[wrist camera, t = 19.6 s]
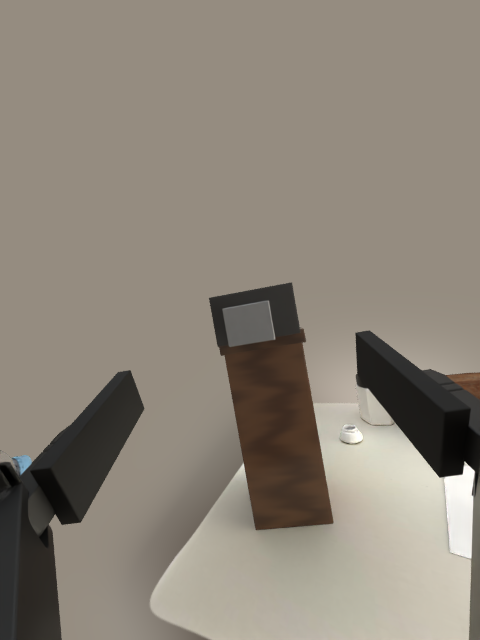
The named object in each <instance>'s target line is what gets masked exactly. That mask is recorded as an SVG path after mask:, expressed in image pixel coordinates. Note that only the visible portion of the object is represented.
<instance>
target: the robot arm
mask: <svg viewBox="0 0 480 640" xmlns="http://www.w3.org/2000/svg"><path fill="white" fill-rule="evenodd" d="M356 352H357V375H358V377H359V378H360V379H361V381H362V382H363V383H364V384H365V386H366V387H367V388H368V389H369V391H370V392H371V393H372V394H373V395H374V397H375V398H376V399H377V400H378V402H379V403H380V404H381V405H382V407H383V408H384V409H385V410H386V412H387V413H388V414H389V415H390V417H391V418H392V419H393V420H394V422H395V423H396V424H397V425H398V427H399V428H400V429H401V430H402V431H403V433H404V434H405V435H406V436H407V438H408V439H409V440H410V441H411V443H412V444H413V445H414V446H415V448H416V449H417V450H418V451H419V453H420V454H421V455H422V456H423V458H424V459H425V460H426V461H427V463H428V464H429V465H430V466H431V467H432V469H433V470H434V471H435V472H436V474H437V475H438V476H439V477H448V476H456V475H463V470H464V461H465V462H466V463H467V464H468V465H469V466H470V467H471V468H472V469H473V470H474V471H475V474H474V481H473V488H472V496H473V523H472V557H471V592H470V626H469V640H480V399H478V398H477V397H475V396H474V395H472V394H471V393H470V392H468V391H467V390H464V389H463V387H461V386H460V385H458V384H457V383H456V384H455V382H454V381H453V380H451V379H450V378H448V377H447V376H445V375H444V374H441V373H439V372H436V371H434V370H431V369H429V370H423V371H422V370H420V369H419V368H418V367H416V366H415V365H414V364H412V363H411V362H410V361H409V360H407V359H406V358H405V357H403V356H402V355H401V354H399V353H398V352H397V351H396V350H394V349H393V348H392V347H390V346H389V345H388V344H386V343H385V342H384V341H383V340H381V339H380V338H378V337H377V336H376V335H375V334H373V333H372V332H371V331H364V332H358V333H356ZM143 410H144V406H143V403H142V401H141V398H140V395H139V393H138V390H137V387H136V384H135V382H134V379H133V376H132V373H131V371H130V370H129V371H123V372H118V373H117V374H116V375H115V376H114V378H113V379H112V380H111V381H110V382H109V383H108V384H107V385H106V386H105V387H104V389H103V390H102V391H101V392H100V393H99V394H98V395H97V396H96V397H95V399H94V400H93V401H92V402H91V403H90V404H89V405H88V407H86V409H85V410H84V411H83V412H82V413H81V414H80V415H79V416H78V418H77V419H76V420H75V421H74V422H73V423H72V424H71V425H70V426H68V427H67V428H66V429H65V430H63V431H62V432H60V433H59V434H58V435H57V436H56V437H55V438H54V439H53V441H52V442H51V443H50V445H48V446H47V447H46V448H45V449H44V450H43V452H42V453H41V454H40V455H39V456H38V457H37V458H36V459H35V460H34V461H33V462H32V461H31V459H30V457H29V456H27V455H24V456H20V457H18V456H17V457H13V458H11V457H10V456H9V455H8V454H6V453H5V452H3V451H1V450H0V640H62V639H61V627H60V615H59V603H58V591H57V580H56V568H55V556H54V545H53V533H52V529H51V527H50V526H49V523H50V521H51V520H52V518H53V517H54V515H55V514H56V516H57V517H58V519H59V521H60V522H61V524H62V525H64V524H72V523H80V522H81V521H82V519H83V518H84V516H85V514H86V512H87V510H88V508H89V507H90V505H91V503H92V501H93V499H94V498H95V496H96V494H97V492H98V491H99V489H100V487H101V485H102V484H103V482H104V480H105V478H106V476H107V475H108V473H109V471H110V469H111V467H112V465H113V464H114V462H115V460H116V459H117V457H118V455H119V453H120V451H121V449H122V448H123V446H124V444H125V442H126V440H127V439H128V437H129V435H130V433H131V432H132V430H133V428H134V426H135V425H136V423H137V421H138V419H139V417H140V415H141V414H142V412H143Z"/></svg>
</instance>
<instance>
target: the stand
mask: <svg viewBox="0 0 480 640" xmlns="http://www.w3.org/2000/svg"><path fill="white" fill-rule="evenodd" d="M300 332H301V333H298V334H292V335H285V336H279V337H275V340H269V341H263V342H257V343H251V344H245V345H239V346H233V347H229V345H225V346H219V348H220V354H221V356H222V355H225V360H226V365H227V371H228V377H229V383H230V388H231V394H232V399H233V404H234V411H235V416H236V421H237V427H238V433H239V438H240V444H241V449H242V455H243V461H244V467H245V472H246V478H247V483H248V489H249V495H250V500H251V506H252V511H253V517H254V523H255V528H256V530H261V529H272V528H284V527H296V526H307V525H319V524H330V523H333V517H332V511H331V505H330V500H329V494H328V488H327V482H326V476H325V471H324V465H323V459H322V453H321V448H320V442H319V436H318V430H317V424H316V419H315V413H314V407H313V401H312V396H311V390H310V384H309V378H308V373H307V367H306V361H305V355H304V349H303V344H302V343H303V342H306V338H305V333H304V329H303V328H301V327H300Z"/></svg>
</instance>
